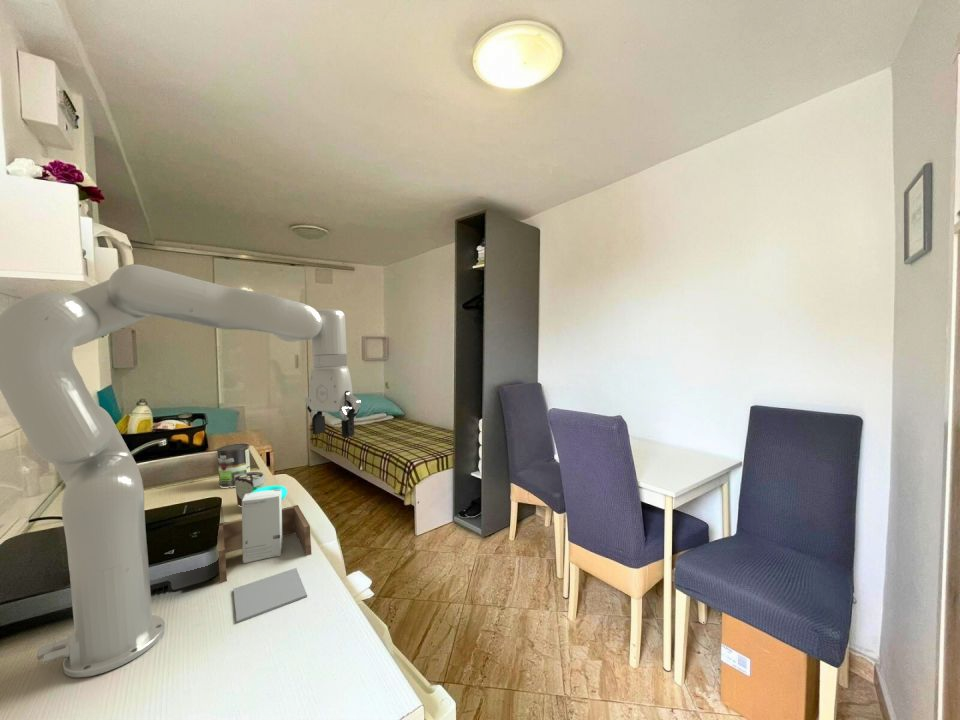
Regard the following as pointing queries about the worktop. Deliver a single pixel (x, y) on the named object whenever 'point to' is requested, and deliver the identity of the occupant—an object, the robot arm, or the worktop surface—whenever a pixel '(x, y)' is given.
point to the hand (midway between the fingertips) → (333, 434)
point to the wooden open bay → (290, 524)
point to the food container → (247, 484)
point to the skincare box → (261, 525)
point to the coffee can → (232, 463)
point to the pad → (268, 594)
